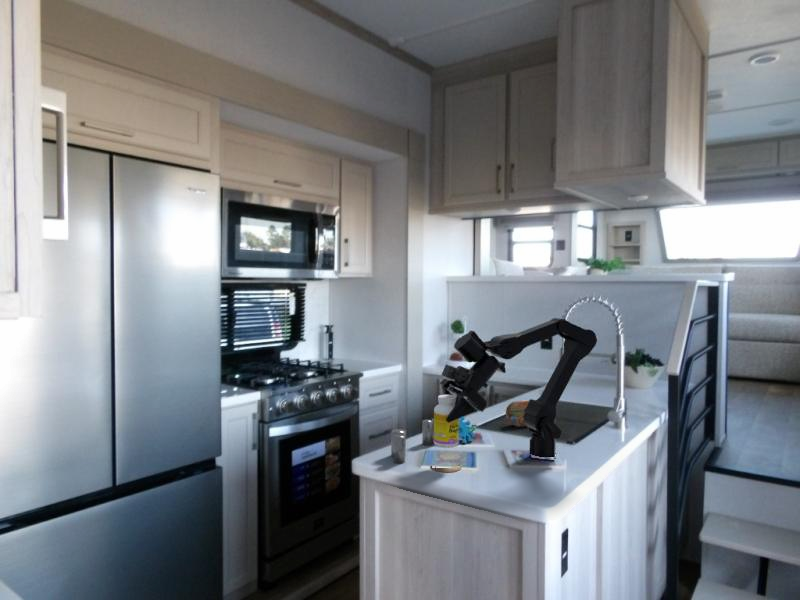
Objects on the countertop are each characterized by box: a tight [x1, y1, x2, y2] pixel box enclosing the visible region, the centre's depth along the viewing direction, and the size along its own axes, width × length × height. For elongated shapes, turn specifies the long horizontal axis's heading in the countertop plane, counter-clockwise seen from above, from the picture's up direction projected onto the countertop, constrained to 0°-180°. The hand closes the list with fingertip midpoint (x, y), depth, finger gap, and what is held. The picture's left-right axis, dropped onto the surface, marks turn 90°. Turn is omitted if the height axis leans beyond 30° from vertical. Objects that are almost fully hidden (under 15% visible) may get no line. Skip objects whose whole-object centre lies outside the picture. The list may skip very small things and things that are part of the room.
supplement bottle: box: [433, 394, 460, 449], centre depth 151 cm, size 7×7×13 cm
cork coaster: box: [431, 464, 462, 473], centre depth 151 cm, size 8×8×1 cm
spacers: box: [390, 417, 434, 464], centre depth 165 cm, size 10×24×7 cm, turn 159°
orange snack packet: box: [505, 399, 530, 428], centre depth 196 cm, size 15×3×8 cm, turn 114°
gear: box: [459, 416, 477, 444], centre depth 177 cm, size 11×6×10 cm
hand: (441, 418), depth 150 cm, fingers closed on supplement bottle, 7 cm apart
